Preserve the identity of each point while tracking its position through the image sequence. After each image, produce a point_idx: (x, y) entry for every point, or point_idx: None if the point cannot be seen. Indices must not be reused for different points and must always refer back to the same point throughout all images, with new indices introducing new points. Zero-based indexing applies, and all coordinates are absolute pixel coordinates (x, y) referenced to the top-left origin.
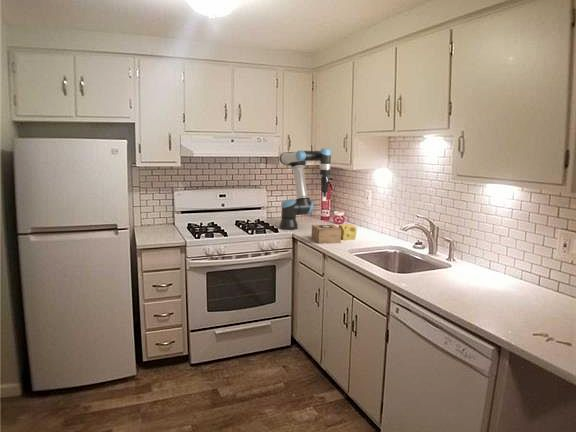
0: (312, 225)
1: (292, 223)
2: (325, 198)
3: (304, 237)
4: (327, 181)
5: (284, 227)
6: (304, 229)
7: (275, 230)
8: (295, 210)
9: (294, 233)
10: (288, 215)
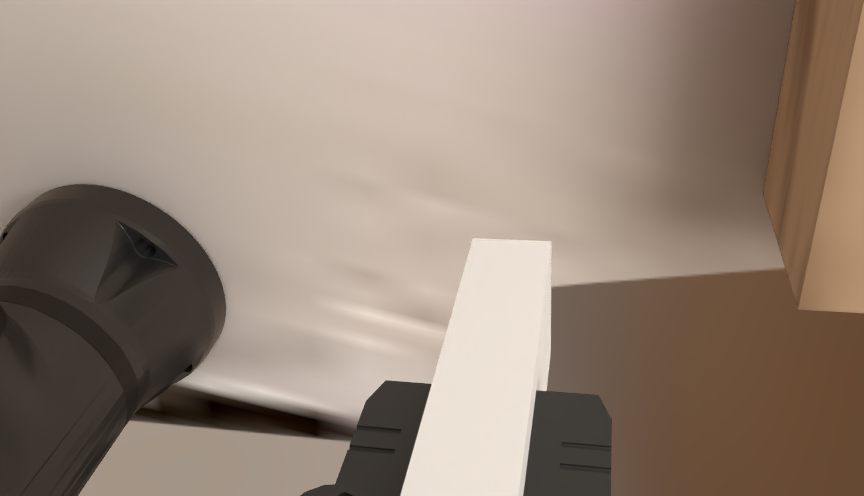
0: (835, 308)
1: (166, 311)
2: (542, 326)
3: (687, 260)
4: None
5: (205, 357)
6: (170, 122)
7: (266, 423)
8: (23, 396)
9: (429, 300)
10: (114, 427)
